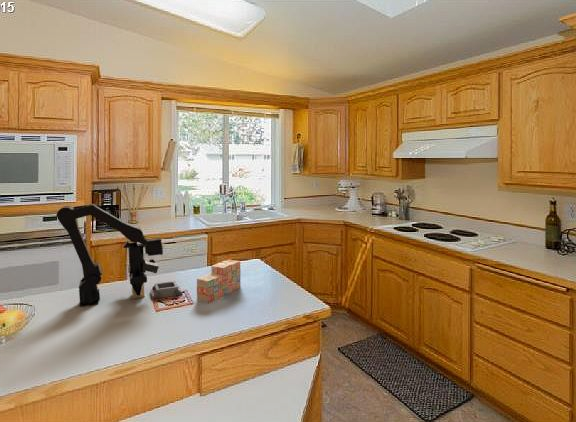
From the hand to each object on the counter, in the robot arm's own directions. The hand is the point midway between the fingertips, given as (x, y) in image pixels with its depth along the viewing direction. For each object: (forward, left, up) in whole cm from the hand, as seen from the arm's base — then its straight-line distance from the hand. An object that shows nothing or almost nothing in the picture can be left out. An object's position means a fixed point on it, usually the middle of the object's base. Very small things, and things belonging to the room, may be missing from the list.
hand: (138, 293), depth 152 cm
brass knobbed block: (0, 0, -1) cm, 1 cm away
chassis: (+11, -2, -1) cm, 11 cm away
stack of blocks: (+32, -11, -1) cm, 34 cm away
